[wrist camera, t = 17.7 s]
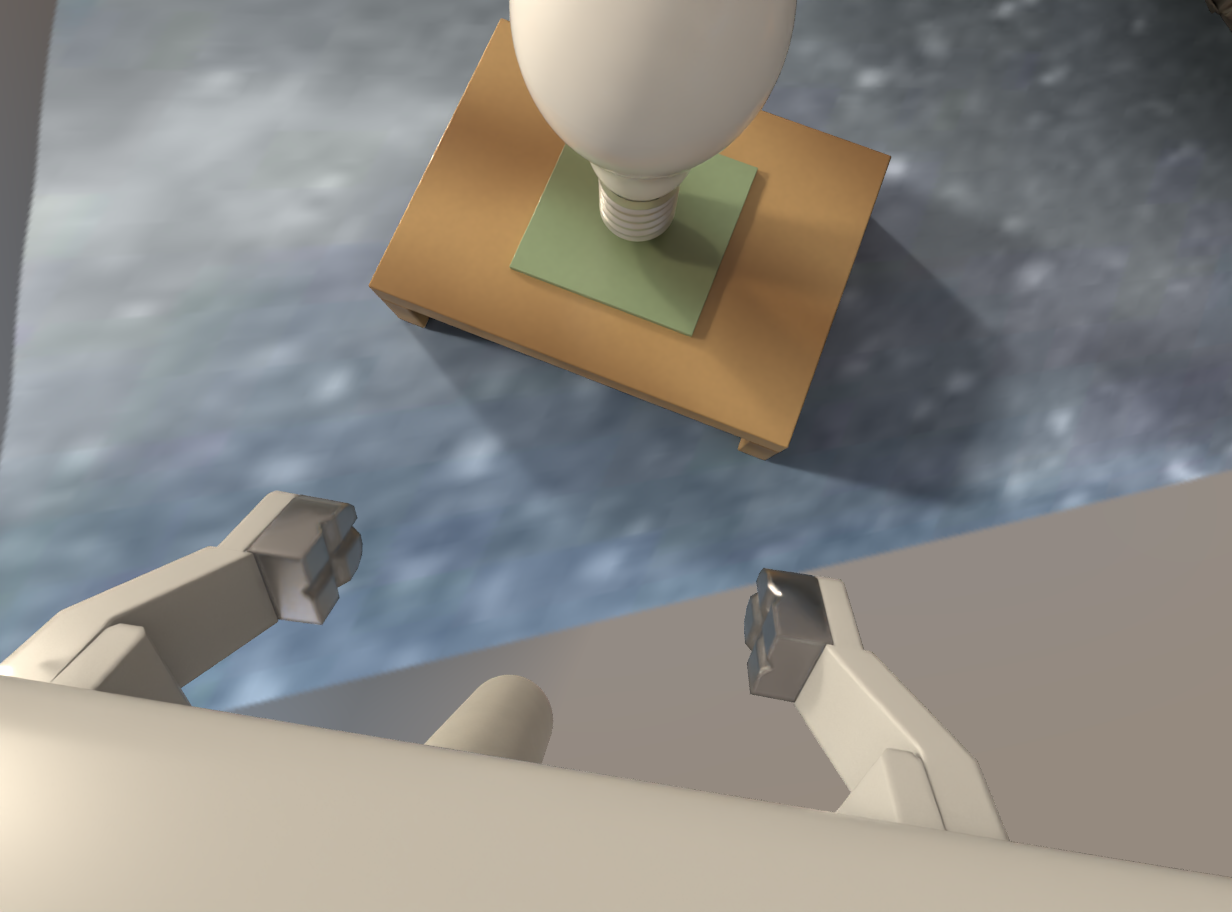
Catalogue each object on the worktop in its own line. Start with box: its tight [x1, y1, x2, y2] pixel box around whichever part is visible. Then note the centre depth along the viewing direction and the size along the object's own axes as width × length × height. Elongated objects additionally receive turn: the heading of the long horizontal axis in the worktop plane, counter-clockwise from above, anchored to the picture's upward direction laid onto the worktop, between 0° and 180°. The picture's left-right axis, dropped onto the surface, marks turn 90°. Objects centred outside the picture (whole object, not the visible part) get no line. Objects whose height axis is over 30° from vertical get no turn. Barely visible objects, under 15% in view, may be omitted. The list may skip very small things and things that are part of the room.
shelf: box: [369, 19, 891, 460], centre depth 22 cm, size 12×16×3 cm
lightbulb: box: [509, 0, 797, 242], centre depth 15 cm, size 6×6×11 cm
